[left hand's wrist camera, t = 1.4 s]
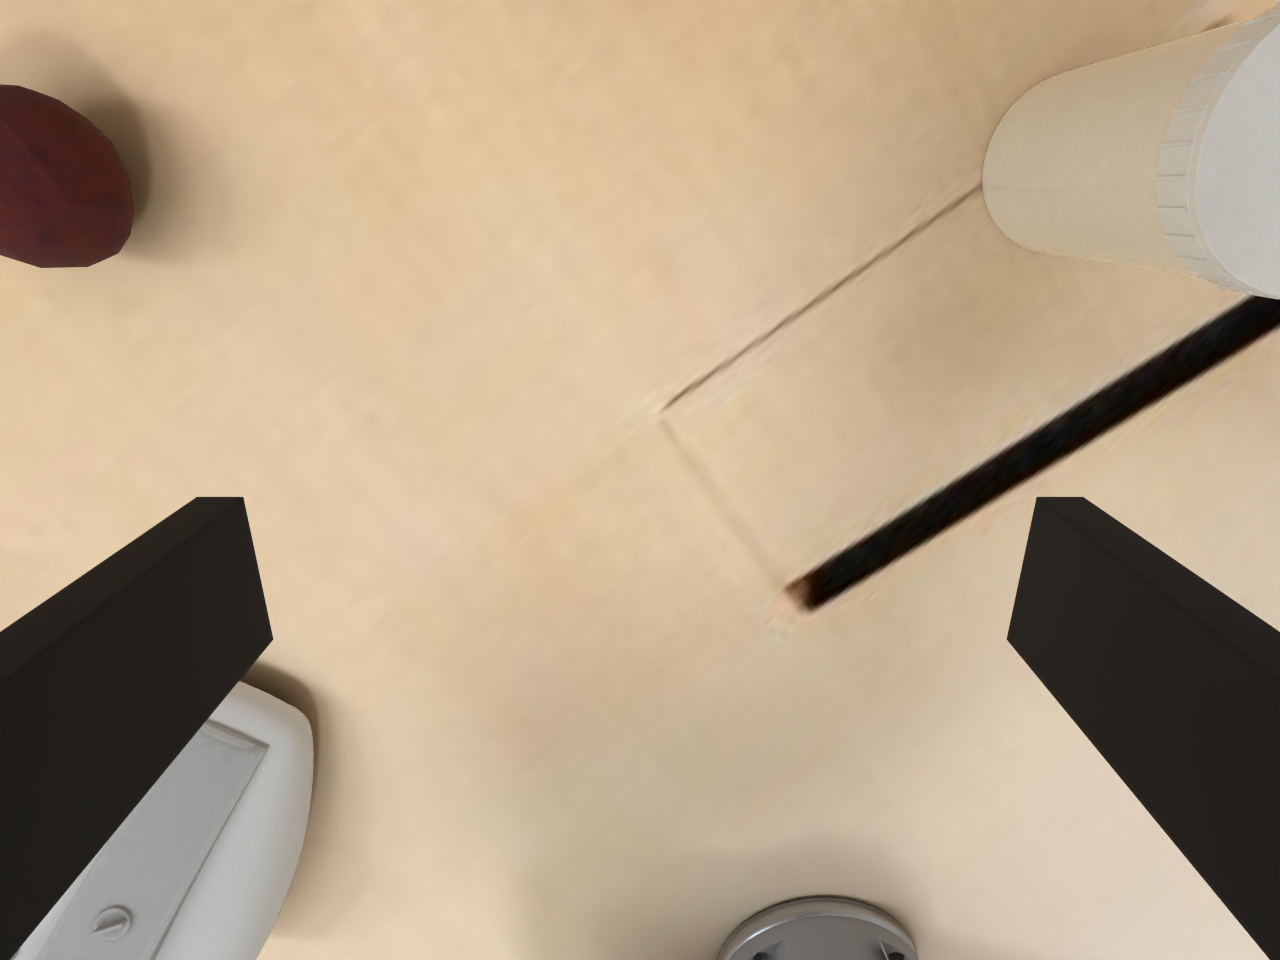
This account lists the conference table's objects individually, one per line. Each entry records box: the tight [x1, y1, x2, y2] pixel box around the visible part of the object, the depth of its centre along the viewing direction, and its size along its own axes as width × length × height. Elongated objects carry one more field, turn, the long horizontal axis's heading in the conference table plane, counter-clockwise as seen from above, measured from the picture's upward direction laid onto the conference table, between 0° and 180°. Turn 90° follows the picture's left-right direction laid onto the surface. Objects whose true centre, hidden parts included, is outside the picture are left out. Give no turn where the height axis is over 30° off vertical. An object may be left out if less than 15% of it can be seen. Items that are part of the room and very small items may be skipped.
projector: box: [10, 681, 314, 960], centre depth 44 cm, size 22×23×15 cm
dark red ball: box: [0, 85, 134, 268], centre depth 33 cm, size 7×8×7 cm
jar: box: [982, 17, 1256, 276], centre depth 29 cm, size 8×8×15 cm
